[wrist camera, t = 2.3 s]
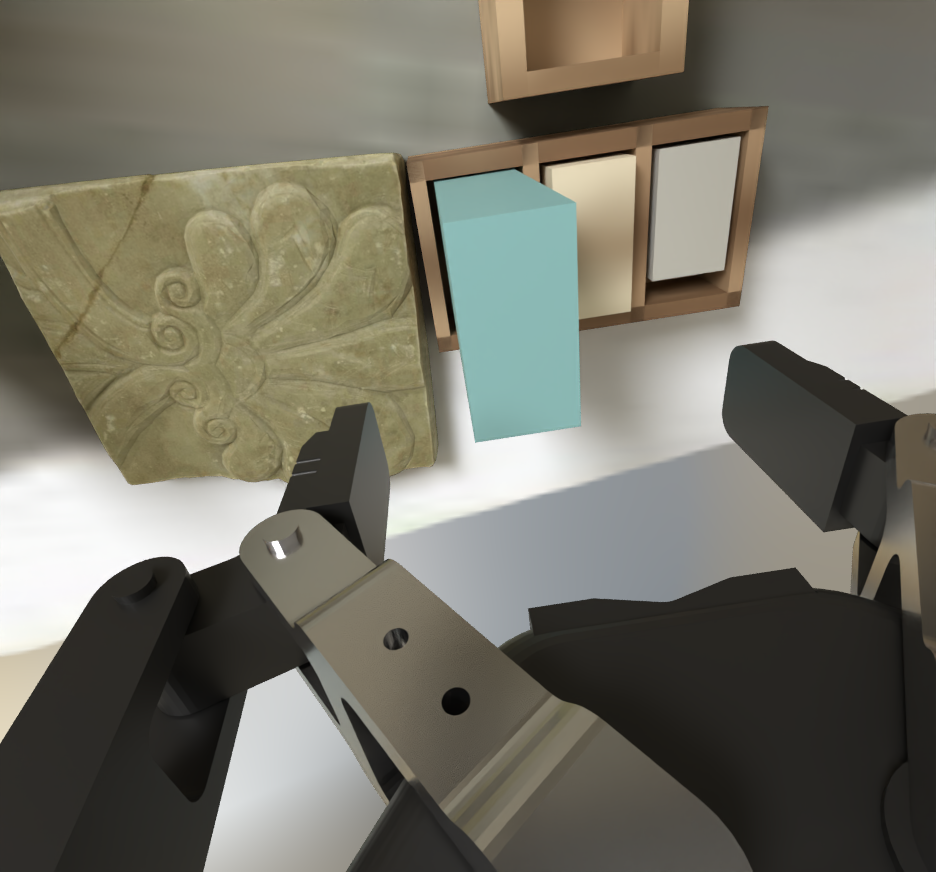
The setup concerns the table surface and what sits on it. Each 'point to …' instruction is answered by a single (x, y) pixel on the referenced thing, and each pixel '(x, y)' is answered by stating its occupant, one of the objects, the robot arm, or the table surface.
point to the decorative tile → (230, 310)
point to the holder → (578, 44)
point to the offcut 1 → (599, 226)
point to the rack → (638, 141)
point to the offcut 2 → (690, 206)
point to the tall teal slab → (513, 300)
